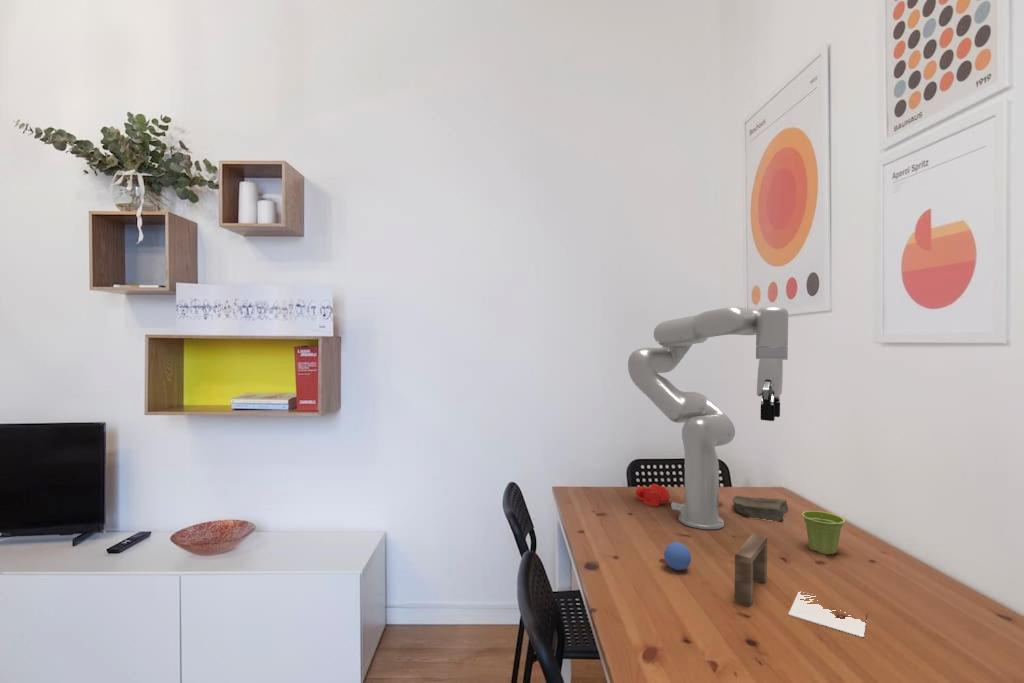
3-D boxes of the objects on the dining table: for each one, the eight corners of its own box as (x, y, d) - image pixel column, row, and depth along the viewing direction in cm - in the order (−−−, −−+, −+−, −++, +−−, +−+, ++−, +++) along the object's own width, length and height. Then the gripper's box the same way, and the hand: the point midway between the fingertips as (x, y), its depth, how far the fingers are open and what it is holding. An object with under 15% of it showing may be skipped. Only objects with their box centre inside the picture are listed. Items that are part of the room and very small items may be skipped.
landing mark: (788, 615, 97) (788, 614, 97) (798, 592, 106) (798, 591, 106) (863, 638, 89) (863, 637, 89) (867, 611, 99) (867, 610, 99)
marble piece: (787, 511, 162) (787, 498, 162) (795, 526, 148) (795, 511, 148) (731, 504, 168) (731, 491, 168) (734, 518, 154) (734, 504, 154)
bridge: (734, 601, 101) (734, 554, 102) (752, 576, 113) (752, 533, 113) (750, 606, 100) (750, 558, 100) (766, 580, 111) (767, 536, 111)
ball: (659, 569, 116) (660, 543, 116) (669, 561, 121) (669, 536, 121) (685, 577, 112) (686, 550, 112) (694, 568, 117) (694, 542, 117)
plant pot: (851, 559, 123) (851, 524, 124) (809, 555, 125) (810, 521, 125) (835, 545, 133) (835, 512, 133) (796, 541, 135) (796, 509, 135)
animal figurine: (669, 496, 176) (670, 482, 176) (670, 509, 161) (671, 493, 161) (636, 493, 179) (636, 479, 179) (634, 504, 165) (634, 489, 165)
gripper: (761, 353, 141) (760, 413, 141) (749, 353, 127) (748, 420, 127) (791, 354, 137) (790, 416, 137) (783, 354, 123) (781, 423, 123)
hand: (770, 418), depth 132 cm, fingers open, 9 cm apart
